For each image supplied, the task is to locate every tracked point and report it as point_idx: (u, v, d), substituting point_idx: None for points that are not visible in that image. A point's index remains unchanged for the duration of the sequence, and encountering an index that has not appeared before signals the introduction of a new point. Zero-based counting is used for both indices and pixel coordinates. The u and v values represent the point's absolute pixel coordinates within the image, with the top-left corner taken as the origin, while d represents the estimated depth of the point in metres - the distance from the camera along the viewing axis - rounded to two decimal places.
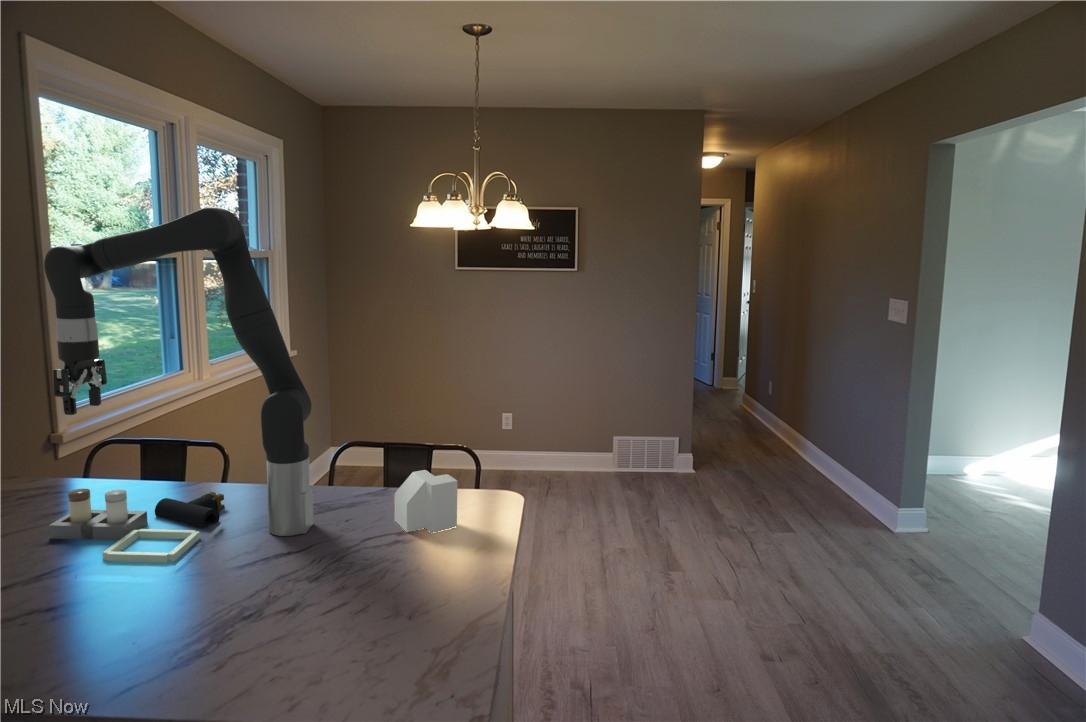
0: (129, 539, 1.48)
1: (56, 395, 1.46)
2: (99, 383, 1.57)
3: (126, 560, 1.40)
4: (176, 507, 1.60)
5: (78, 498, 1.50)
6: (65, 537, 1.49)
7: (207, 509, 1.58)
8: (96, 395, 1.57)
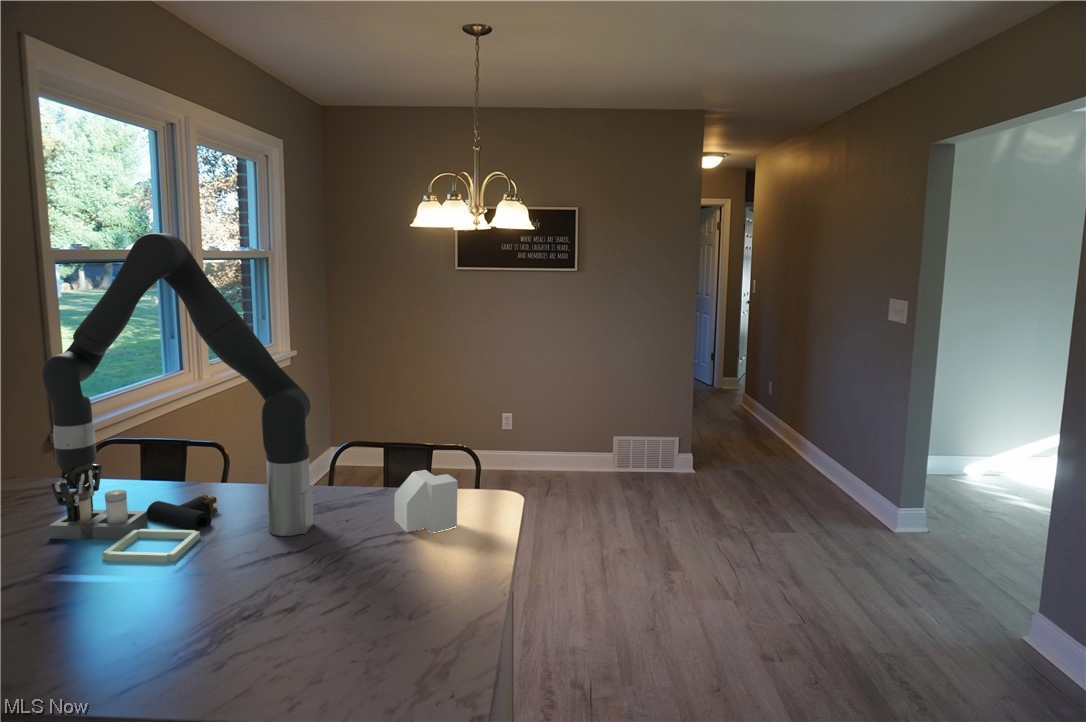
0: (129, 539, 1.48)
1: (60, 505, 1.47)
2: (91, 491, 1.54)
3: (126, 560, 1.40)
4: (167, 510, 1.58)
5: None
6: (65, 537, 1.49)
7: (198, 512, 1.56)
8: None
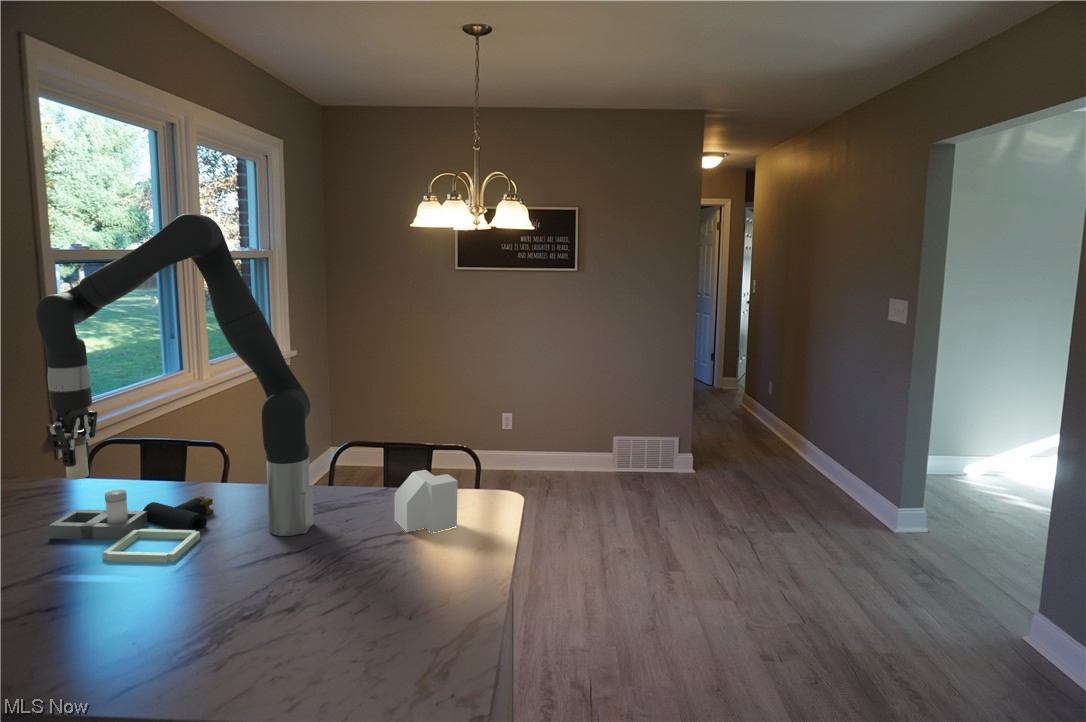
0: (129, 539, 1.48)
1: (55, 448, 1.45)
2: (87, 437, 1.52)
3: (126, 560, 1.40)
4: (163, 512, 1.57)
5: None
6: (65, 537, 1.49)
7: (194, 514, 1.55)
8: None
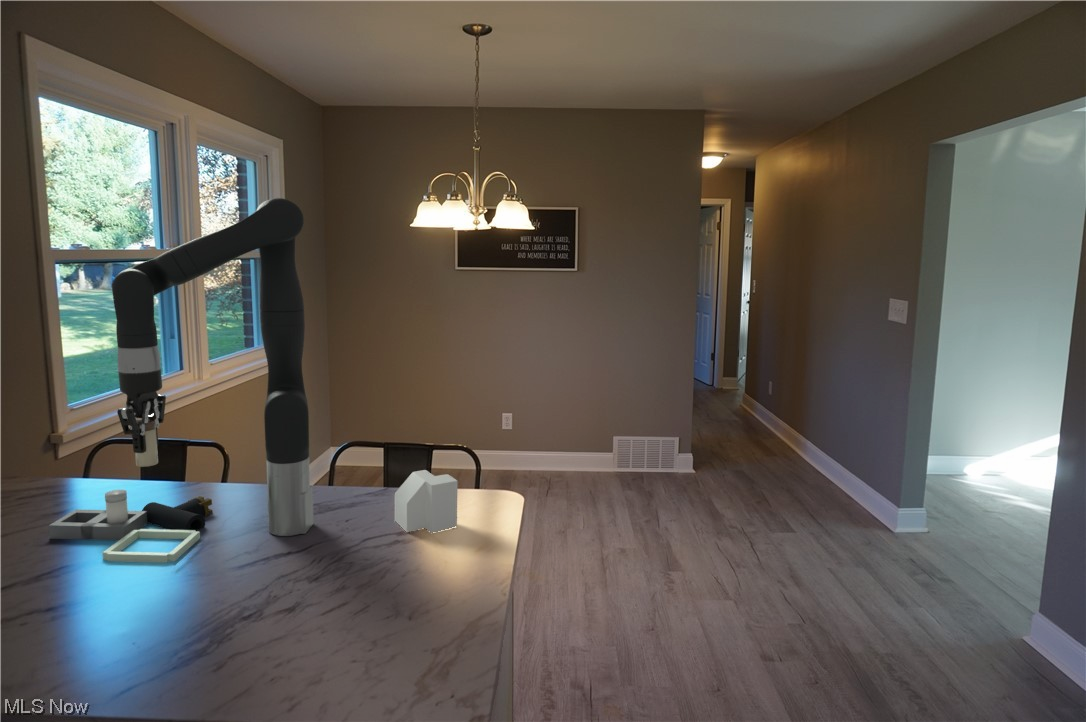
0: (129, 539, 1.48)
1: (126, 434, 1.37)
2: (156, 422, 1.44)
3: (126, 560, 1.40)
4: (162, 512, 1.57)
5: None
6: (65, 537, 1.49)
7: (192, 515, 1.55)
8: None
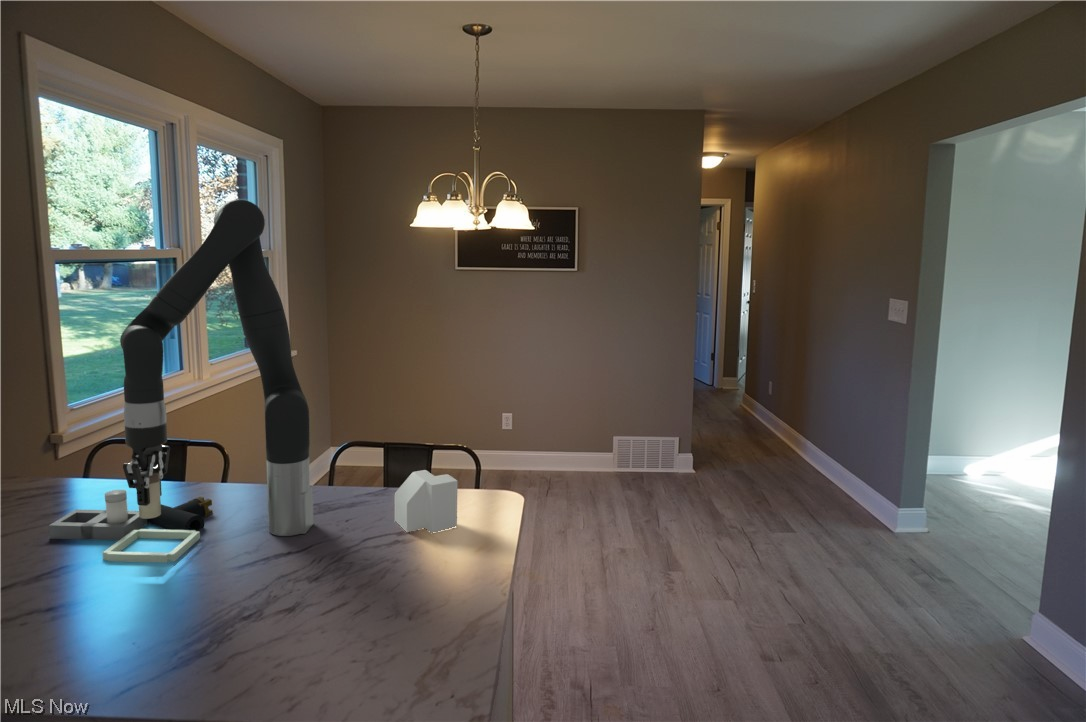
0: (129, 539, 1.48)
1: (131, 487, 1.39)
2: (160, 473, 1.46)
3: (126, 560, 1.40)
4: (161, 512, 1.57)
5: None
6: (65, 537, 1.49)
7: (191, 515, 1.55)
8: None
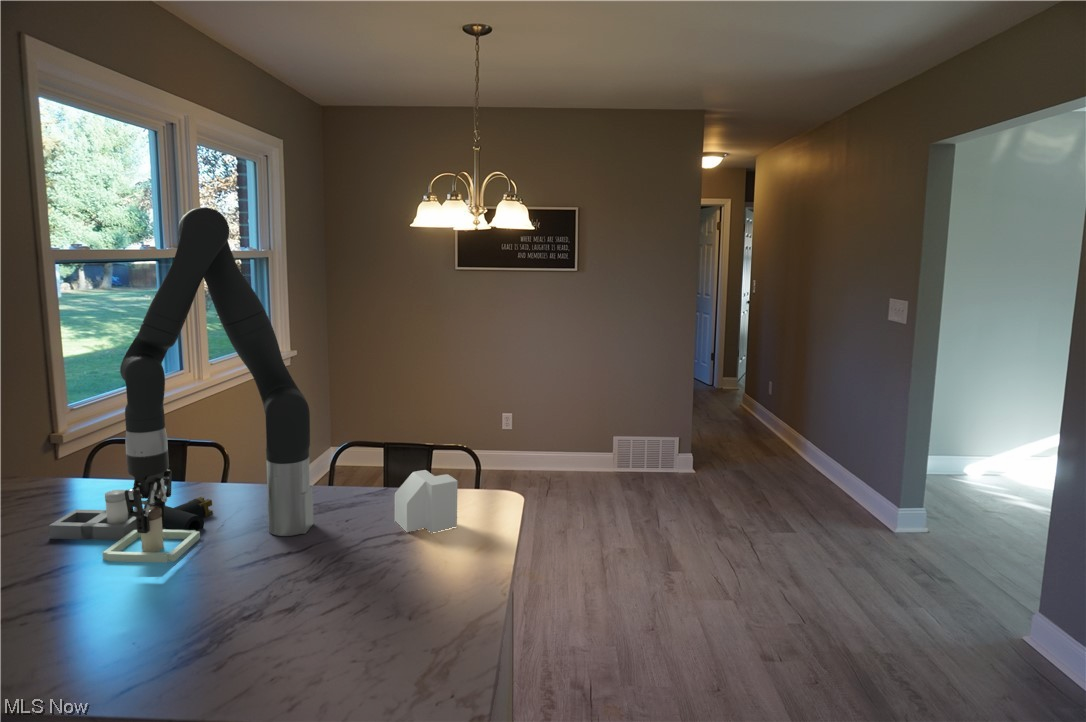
0: (129, 539, 1.48)
1: (130, 515, 1.39)
2: (164, 497, 1.48)
3: (126, 560, 1.40)
4: None
5: (150, 517, 1.43)
6: (65, 537, 1.49)
7: (191, 515, 1.54)
8: None
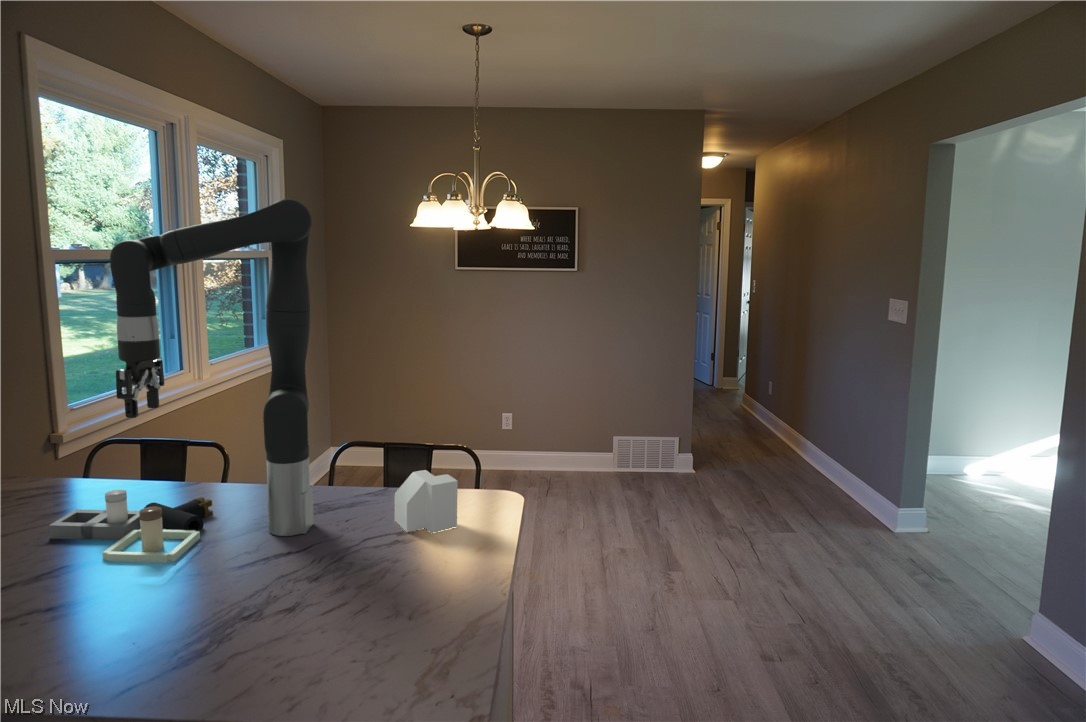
0: (129, 539, 1.48)
1: (119, 397, 1.38)
2: (158, 384, 1.50)
3: (126, 560, 1.40)
4: None
5: (150, 517, 1.43)
6: (65, 537, 1.49)
7: (190, 516, 1.54)
8: (154, 397, 1.50)
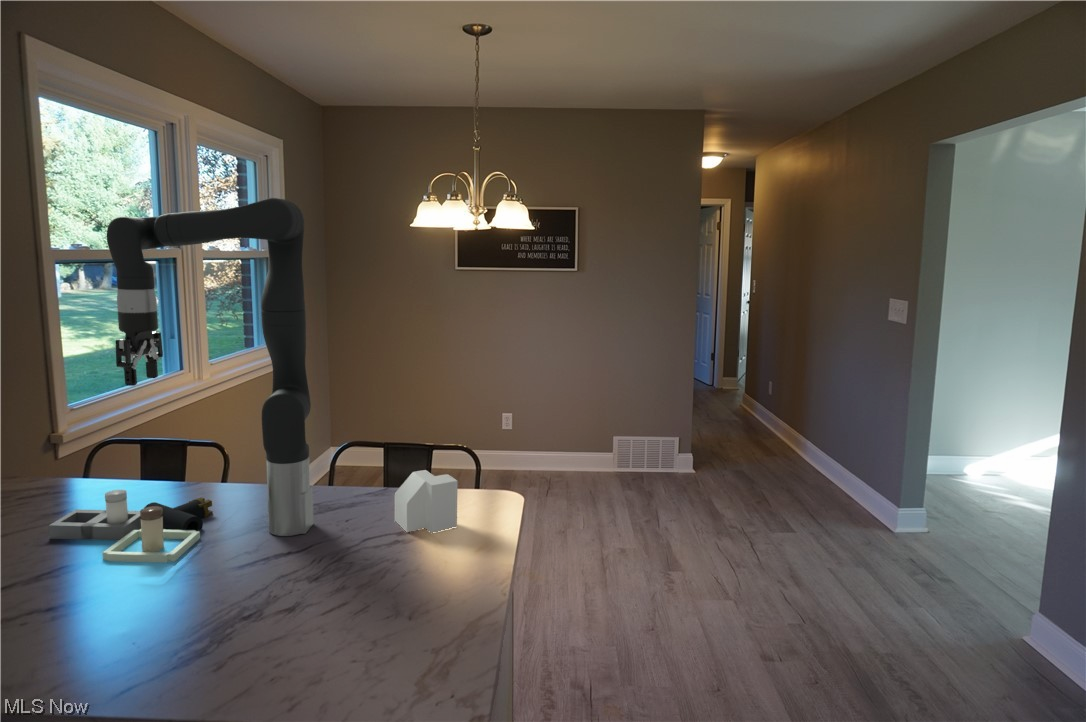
0: (129, 539, 1.48)
1: (118, 365, 1.46)
2: (156, 355, 1.57)
3: (126, 560, 1.40)
4: None
5: (151, 516, 1.43)
6: (65, 537, 1.49)
7: (189, 516, 1.54)
8: (153, 367, 1.57)
